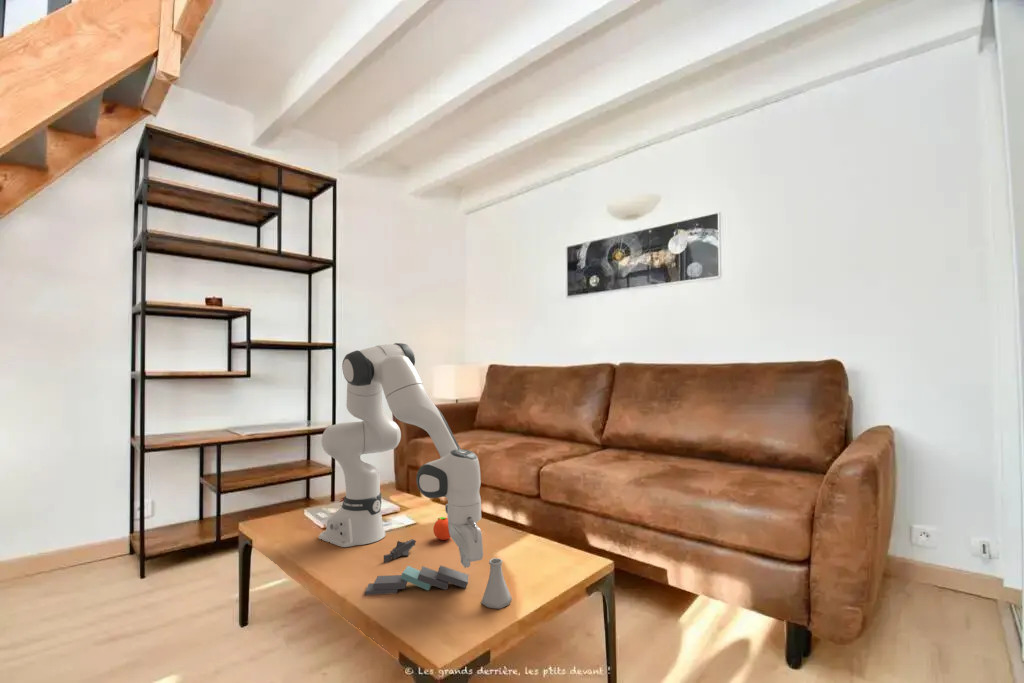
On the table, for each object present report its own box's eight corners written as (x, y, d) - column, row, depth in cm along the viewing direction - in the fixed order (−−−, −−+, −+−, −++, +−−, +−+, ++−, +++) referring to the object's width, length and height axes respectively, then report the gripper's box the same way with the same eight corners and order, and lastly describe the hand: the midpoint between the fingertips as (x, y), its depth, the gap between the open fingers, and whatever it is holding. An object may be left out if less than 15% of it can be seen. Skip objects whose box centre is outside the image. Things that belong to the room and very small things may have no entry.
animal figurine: (389, 569, 141) (386, 552, 141) (380, 565, 144) (377, 549, 144) (421, 548, 151) (418, 533, 150) (412, 545, 153) (409, 530, 153)
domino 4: (446, 590, 125) (417, 579, 125) (448, 581, 129) (420, 571, 129) (448, 584, 125) (419, 574, 125) (450, 576, 129) (422, 566, 129)
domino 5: (465, 588, 126) (436, 578, 125) (466, 580, 130) (438, 571, 130) (467, 582, 126) (438, 572, 125) (468, 574, 130) (440, 565, 130)
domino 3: (428, 590, 125) (400, 578, 126) (433, 583, 129) (406, 571, 130) (430, 584, 125) (402, 572, 126) (435, 577, 129) (408, 565, 130)
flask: (500, 612, 113) (500, 569, 114) (475, 605, 117) (475, 563, 117) (516, 599, 120) (515, 558, 120) (492, 592, 123) (491, 552, 124)
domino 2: (404, 588, 124) (373, 589, 124) (408, 580, 129) (377, 582, 129) (404, 582, 124) (373, 583, 124) (407, 574, 129) (377, 575, 129)
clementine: (428, 538, 161) (428, 516, 162) (446, 533, 166) (446, 512, 166) (439, 545, 155) (439, 522, 155) (458, 539, 159) (458, 518, 159)
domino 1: (397, 596, 124) (365, 597, 123) (399, 587, 128) (368, 589, 128) (397, 589, 124) (365, 591, 123) (399, 581, 128) (368, 583, 128)
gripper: (488, 522, 120) (489, 579, 119) (465, 500, 139) (466, 549, 138) (464, 526, 117) (465, 584, 117) (443, 503, 136) (444, 553, 136)
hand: (465, 565), depth 128 cm, fingers closed
